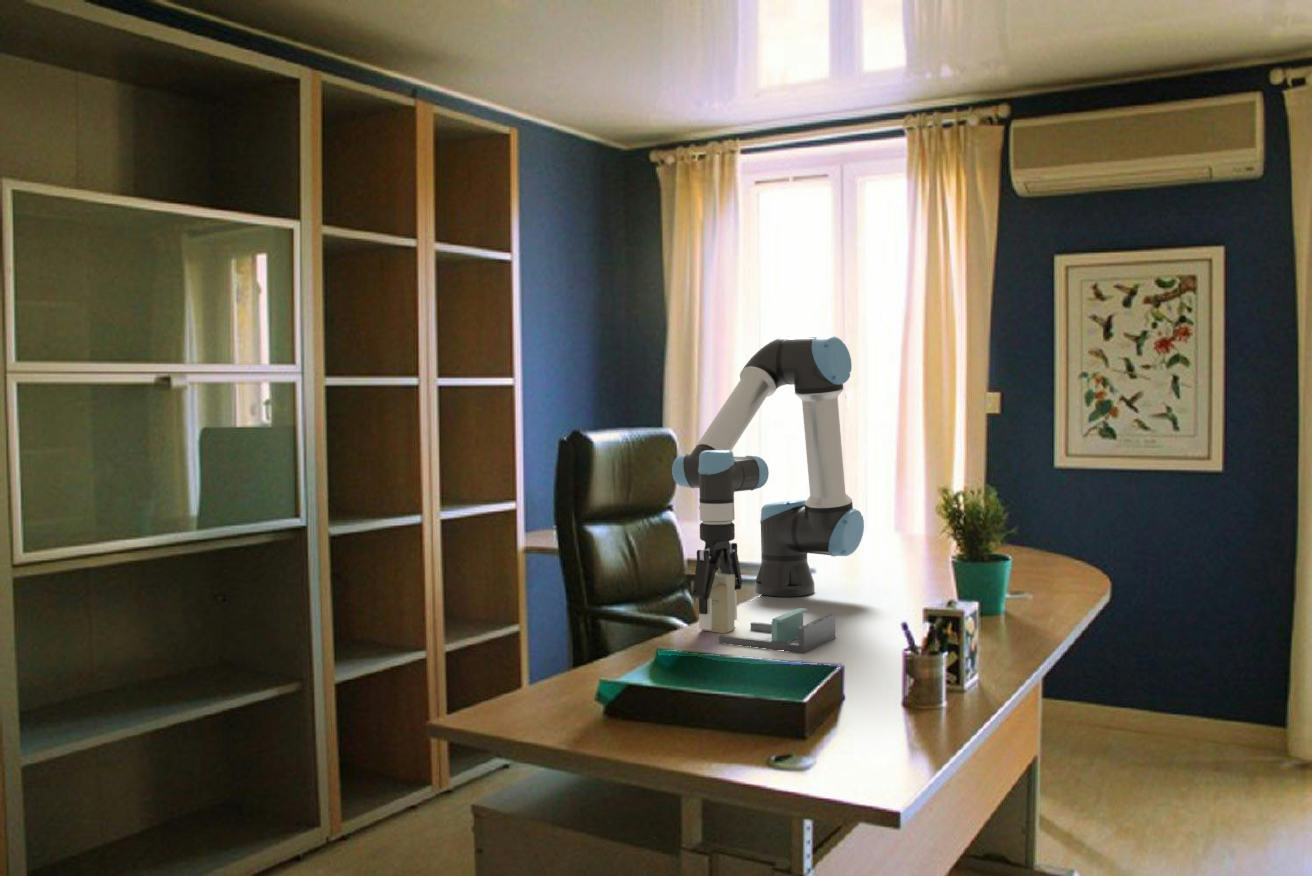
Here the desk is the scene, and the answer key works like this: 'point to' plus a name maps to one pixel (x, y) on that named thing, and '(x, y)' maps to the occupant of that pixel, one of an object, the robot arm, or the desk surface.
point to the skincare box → (722, 603)
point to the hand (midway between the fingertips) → (718, 623)
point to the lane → (807, 641)
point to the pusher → (787, 625)
